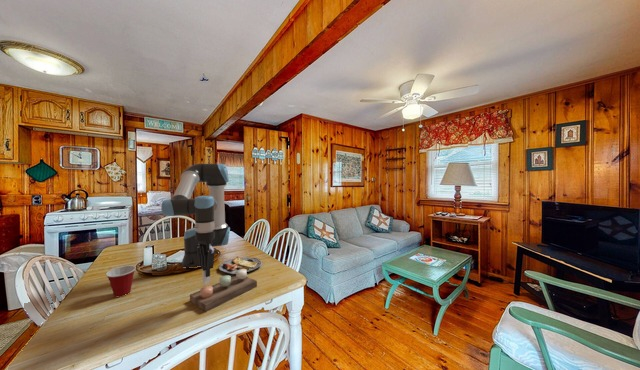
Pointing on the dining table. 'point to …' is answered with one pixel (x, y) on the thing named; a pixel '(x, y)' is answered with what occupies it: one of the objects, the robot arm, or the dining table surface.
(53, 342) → the dining table surface
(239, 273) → the cream button
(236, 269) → the food plate
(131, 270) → the plastic cup
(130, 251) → the dining table surface
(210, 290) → the terracotta button
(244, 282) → the button board
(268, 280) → the dining table surface
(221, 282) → the sage button
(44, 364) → the dining table surface
